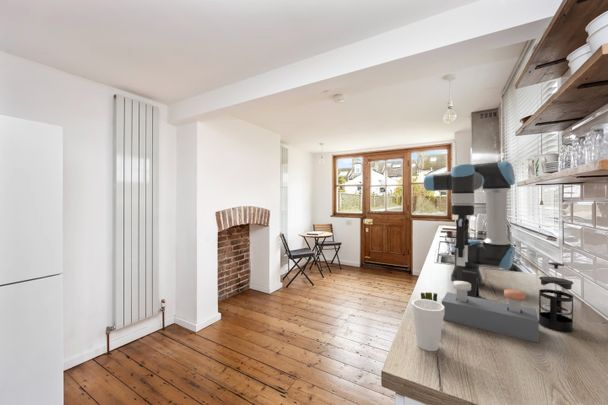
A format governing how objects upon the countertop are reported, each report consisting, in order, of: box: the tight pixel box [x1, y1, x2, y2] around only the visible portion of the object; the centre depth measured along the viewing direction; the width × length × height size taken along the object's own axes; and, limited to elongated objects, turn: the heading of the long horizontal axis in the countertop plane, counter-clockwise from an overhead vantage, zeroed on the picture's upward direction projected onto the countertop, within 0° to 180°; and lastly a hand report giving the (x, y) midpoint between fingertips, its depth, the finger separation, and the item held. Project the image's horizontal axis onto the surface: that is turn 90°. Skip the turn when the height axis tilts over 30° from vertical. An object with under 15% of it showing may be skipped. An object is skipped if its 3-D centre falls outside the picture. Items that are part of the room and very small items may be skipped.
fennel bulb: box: [420, 292, 438, 302], centre depth 97 cm, size 6×5×12 cm
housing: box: [441, 291, 540, 344], centre depth 98 cm, size 12×28×7 cm, turn 52°
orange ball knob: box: [503, 288, 527, 313], centre depth 93 cm, size 6×6×8 cm
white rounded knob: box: [452, 281, 471, 302], centre depth 103 cm, size 6×6×8 cm
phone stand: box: [462, 270, 481, 298], centre depth 125 cm, size 9×6×12 cm, turn 134°
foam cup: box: [411, 298, 445, 352], centre depth 84 cm, size 10×9×13 cm
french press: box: [538, 261, 575, 334], centre depth 96 cm, size 12×9×23 cm
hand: (462, 263), depth 103 cm, fingers open, 8 cm apart
